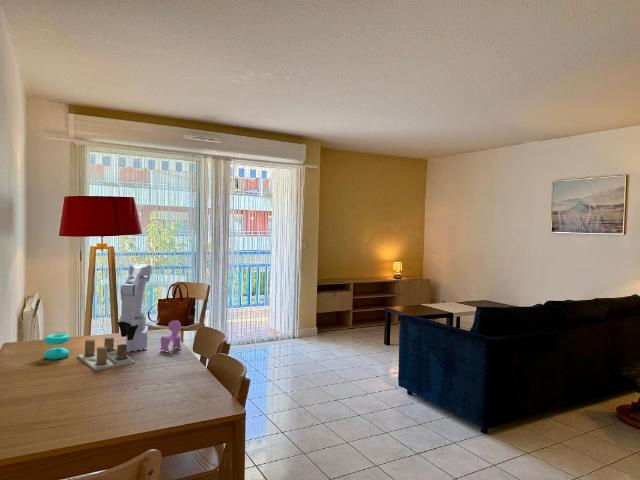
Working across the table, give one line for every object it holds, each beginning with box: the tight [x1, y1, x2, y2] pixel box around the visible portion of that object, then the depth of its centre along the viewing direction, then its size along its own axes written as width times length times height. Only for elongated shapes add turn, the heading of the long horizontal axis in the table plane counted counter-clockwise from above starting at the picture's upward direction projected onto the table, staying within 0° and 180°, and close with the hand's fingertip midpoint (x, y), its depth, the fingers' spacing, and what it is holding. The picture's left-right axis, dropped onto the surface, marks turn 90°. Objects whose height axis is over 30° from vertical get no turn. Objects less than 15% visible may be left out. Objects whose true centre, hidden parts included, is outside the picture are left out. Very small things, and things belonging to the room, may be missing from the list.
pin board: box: [76, 336, 136, 371], centre depth 199 cm, size 17×24×8 cm
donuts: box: [43, 333, 70, 360], centre depth 201 cm, size 10×10×10 cm
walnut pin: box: [116, 343, 128, 361], centre depth 196 cm, size 4×4×7 cm
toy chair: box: [160, 319, 182, 352], centre depth 219 cm, size 8×9×15 cm
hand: (127, 338), depth 203 cm, fingers open, 7 cm apart
